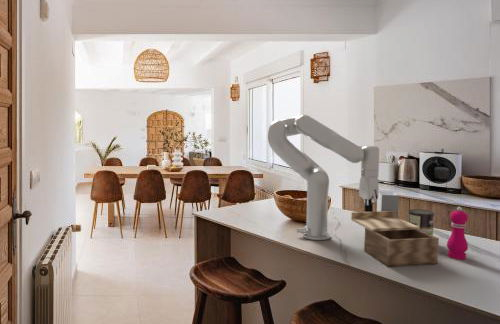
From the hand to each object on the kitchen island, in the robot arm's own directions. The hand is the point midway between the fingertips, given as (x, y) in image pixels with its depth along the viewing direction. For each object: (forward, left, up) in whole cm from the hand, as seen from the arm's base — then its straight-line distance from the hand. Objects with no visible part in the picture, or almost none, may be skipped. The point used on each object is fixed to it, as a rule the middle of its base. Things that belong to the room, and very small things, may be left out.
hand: (368, 213), depth 171 cm
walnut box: (0, -26, -12) cm, 28 cm away
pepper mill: (+23, -28, -12) cm, 39 cm away
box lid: (0, -14, -2) cm, 14 cm away
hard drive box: (+13, +7, -12) cm, 19 cm away
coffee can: (+20, -10, -12) cm, 25 cm away
